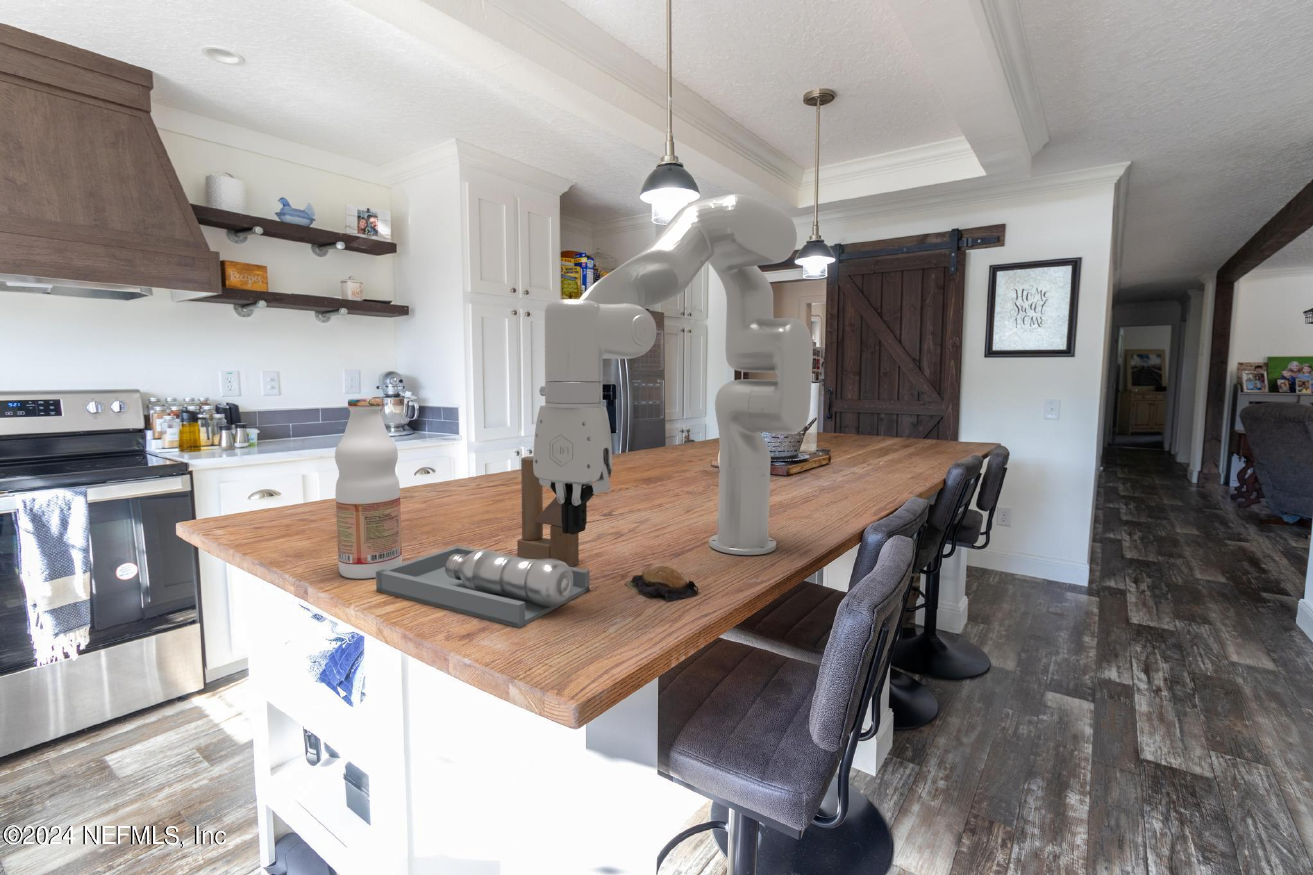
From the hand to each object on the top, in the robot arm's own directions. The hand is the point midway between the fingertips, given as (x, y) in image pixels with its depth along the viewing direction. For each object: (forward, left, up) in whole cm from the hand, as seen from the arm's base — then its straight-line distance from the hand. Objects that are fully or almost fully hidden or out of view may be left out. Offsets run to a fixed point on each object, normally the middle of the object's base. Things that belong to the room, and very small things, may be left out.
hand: (574, 531), depth 83 cm
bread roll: (-14, +6, -12) cm, 19 cm away
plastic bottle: (+1, 0, -7) cm, 7 cm away
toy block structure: (-16, -17, -11) cm, 26 cm away
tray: (0, -16, -11) cm, 20 cm away
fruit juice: (+2, -39, -11) cm, 41 cm away
